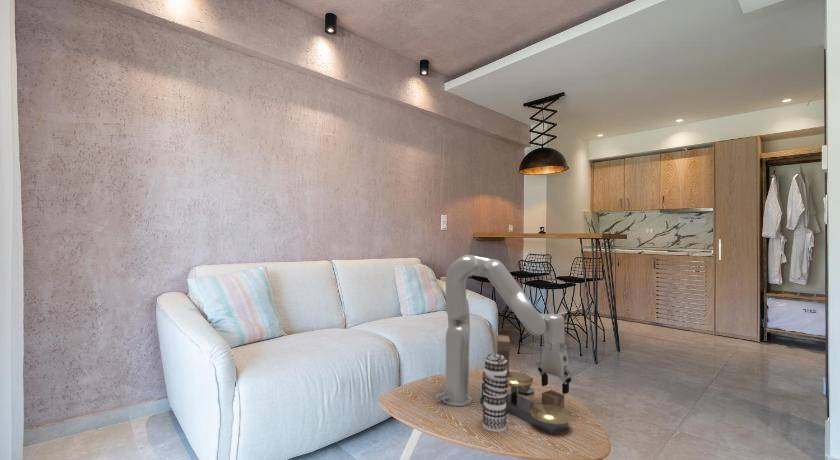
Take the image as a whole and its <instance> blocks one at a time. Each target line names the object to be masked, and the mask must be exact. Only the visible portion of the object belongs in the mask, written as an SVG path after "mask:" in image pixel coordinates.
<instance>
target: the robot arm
mask: <svg viewBox="0 0 840 460" xmlns="http://www.w3.org/2000/svg"><path fill="white" fill-rule="evenodd" d="M470 276H475V277H481V278H487V279H488V281H489V282H490V283H491V285H492V286H493V287H494V288H495V290H496V291H497V292H498V294H499V296H501V298H502V299H503V301H504V302H505V303H506V305H507V306H508V307H509V308H510V310H511V311H512V312H513V313H514V315H515V316H516V318H517V319H518V320H519V321H520V323H521V324H522V325H523V327H524V328H525V330H526V331H527V332H528V333H529V334H530V335H532V336H534V337H540V336H542V335H544V340H543V341H544V343H543V344H544V347H543V349H542V353H541V355H542V356H541V361H536V363H535V365H536V367H537V370H538V372H539V375H540V376H541V386H542V387H546V386H548V385H549V375H551V376H554V377H557V378H560V379H561V381H562V384H561V387H562V389H561V391H562V392H561V394H563V395H566V394H568V393H569V391H570V383H571V382H572V381H574V378H575V376H576V374H575V373H574V372H573V371H572V370H571V369H570V365H569V364H570V363H569V356H568V353H567V348H568V346H567V345H565V317H564V316H563V315H562V314H557V313H540V312H538V310H537V309H536V308H535V307H534V305H533V304H532V302H531V301H530V299H529V298H528V297H527V295H526V293H525V291H524V290H523V289H522V287H521V285H519V283H518V282H517V280H516V279H515V278H514V277H513V275H512V274H511V273H510V271H509V270H508V269H507V268H506V266H505V265H504V263H503V262H502V261H500V260H499V259H494V258H488V257H484V256H483V257H482V256H477V255H472V254H464V255H462V256H460V257H459V258H458V259H456V260H455V261H453V262H452V263H451V264H450V265H449V267H448V268H447V271H446V274H445V312H446V314H447V324H448V327H447V330H446V333H445V381H444V382H445V385H444V388H442V392H441V393H440V392H439V393H435V398H436V400H439V399H441V401H442V402H443V403H444V404H446V405H448V406H452V407H466V406H468V405H470V404H471V403H472V402H473V397H472V396H471V395H470V394H469V377H470V376H469V374H470V372H469V370H470V368H469V367H470V366H469V365H470V337H471V336H470V335H471V334H470V333H471V324H470V323H471V322H470V321H471V320H470V304H469V301H468V298H467V279H468V277H470Z"/></svg>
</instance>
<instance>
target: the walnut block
mask: <svg viewBox="0 0 840 460" xmlns="http://www.w3.org/2000/svg"><path fill="white" fill-rule="evenodd" d="M541 404H551V405H555V406H559V407H561V408H563V409H565V394H563V393H560V392H558V391H555V390H553V389H550V390H546V391H544V392H541Z"/></svg>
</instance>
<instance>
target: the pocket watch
mask: <svg viewBox="0 0 840 460" xmlns="http://www.w3.org/2000/svg"><path fill="white" fill-rule="evenodd" d="M519 373H523V374H526V375H527V373H526V372H525V371H524V370H520V371H519ZM517 391H518V392H519V393H522V394H526V395H532V394H534V393H535V390H534V389H533V388H532V387H531V385H530V386H527V387H517Z"/></svg>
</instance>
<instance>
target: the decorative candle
mask: <svg viewBox="0 0 840 460" xmlns="http://www.w3.org/2000/svg"><path fill="white" fill-rule="evenodd" d="M483 361H484V369H483V370H484V371H483V373H482V382H483V383H482V392H483V394H484V397H483V398H484V399H483V404H482V420H481V421H482V427H483V428H484V429H485V430H487V431H490V432H495V433H497V432H504V431H505V430H507V424H508V423H507V422H508V421H507V419H508V418H507V417H508V416H507V415H508V412H507V411H506V410H507V407H506V395H508V390H507V388H508V387H509V386H508V385H507V383H508V381H507V380H506V378H507V377H509V376H508V374H506V372H507V373H508V371H507V369H506V362H507V360H506V359H505V358H504V356H502V355H500V354H497V353H489V354H487V355H486V357H485V358H484V359H483Z"/></svg>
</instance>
